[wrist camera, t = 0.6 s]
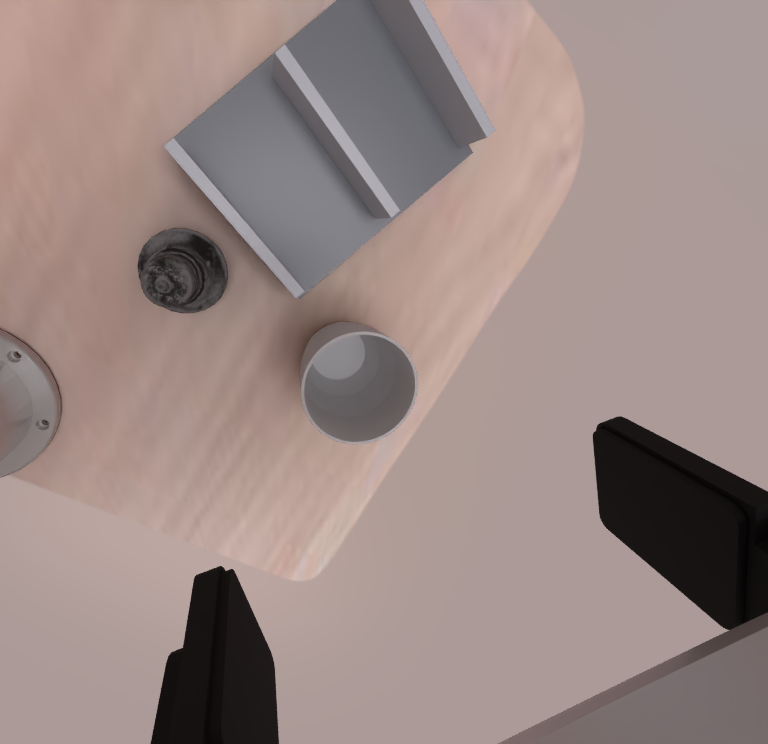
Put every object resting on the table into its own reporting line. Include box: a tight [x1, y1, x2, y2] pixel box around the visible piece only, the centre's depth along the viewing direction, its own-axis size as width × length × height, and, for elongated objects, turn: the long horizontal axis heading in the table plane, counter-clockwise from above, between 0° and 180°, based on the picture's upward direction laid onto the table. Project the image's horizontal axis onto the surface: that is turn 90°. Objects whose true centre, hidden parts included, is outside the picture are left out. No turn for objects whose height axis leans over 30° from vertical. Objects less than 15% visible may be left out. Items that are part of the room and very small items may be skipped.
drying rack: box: [163, 0, 495, 299], centre depth 33 cm, size 18×14×6 cm
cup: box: [300, 322, 418, 444], centre depth 37 cm, size 8×8×10 cm
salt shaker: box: [138, 228, 228, 313], centre depth 31 cm, size 6×6×12 cm
